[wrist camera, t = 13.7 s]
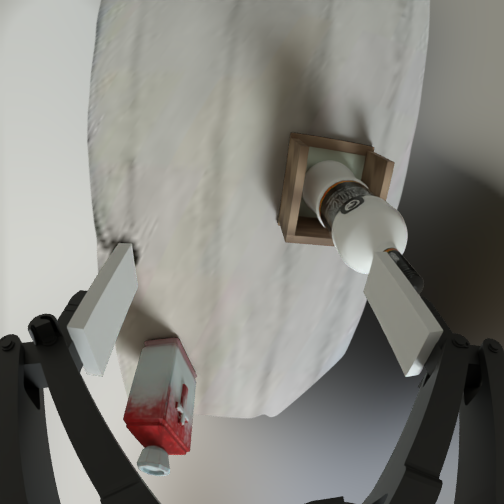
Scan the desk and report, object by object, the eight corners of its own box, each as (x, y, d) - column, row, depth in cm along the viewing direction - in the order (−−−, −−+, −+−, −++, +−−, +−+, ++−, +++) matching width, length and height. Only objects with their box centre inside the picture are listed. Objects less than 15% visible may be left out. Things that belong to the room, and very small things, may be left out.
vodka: (312, 220, 53) (376, 345, 27) (291, 173, 49) (351, 272, 23) (359, 198, 52) (457, 302, 25) (341, 150, 48) (450, 223, 21)
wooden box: (290, 132, 47) (301, 140, 39) (372, 146, 48) (395, 157, 40) (277, 223, 55) (284, 247, 47) (353, 230, 56) (371, 253, 48)
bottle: (201, 374, 73) (192, 484, 47) (163, 378, 73) (145, 482, 47) (182, 333, 66) (162, 456, 40) (140, 338, 67) (109, 453, 40)
